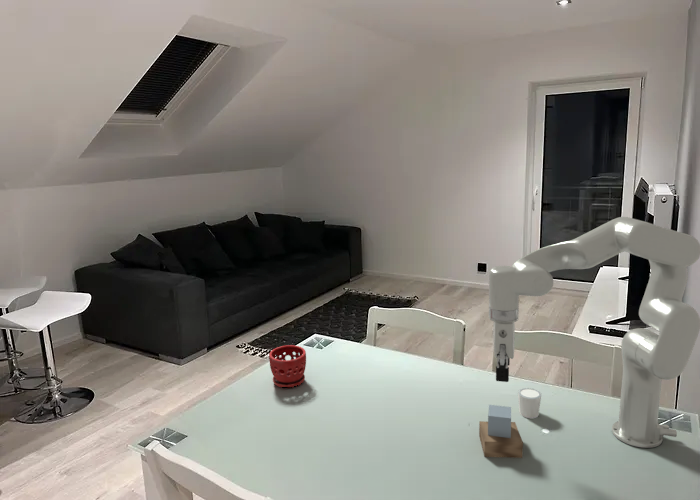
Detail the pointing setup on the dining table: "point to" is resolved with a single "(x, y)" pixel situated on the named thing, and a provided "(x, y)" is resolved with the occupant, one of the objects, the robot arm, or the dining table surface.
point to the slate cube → (499, 421)
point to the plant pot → (288, 366)
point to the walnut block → (501, 443)
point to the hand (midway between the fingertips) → (502, 372)
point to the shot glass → (529, 402)
